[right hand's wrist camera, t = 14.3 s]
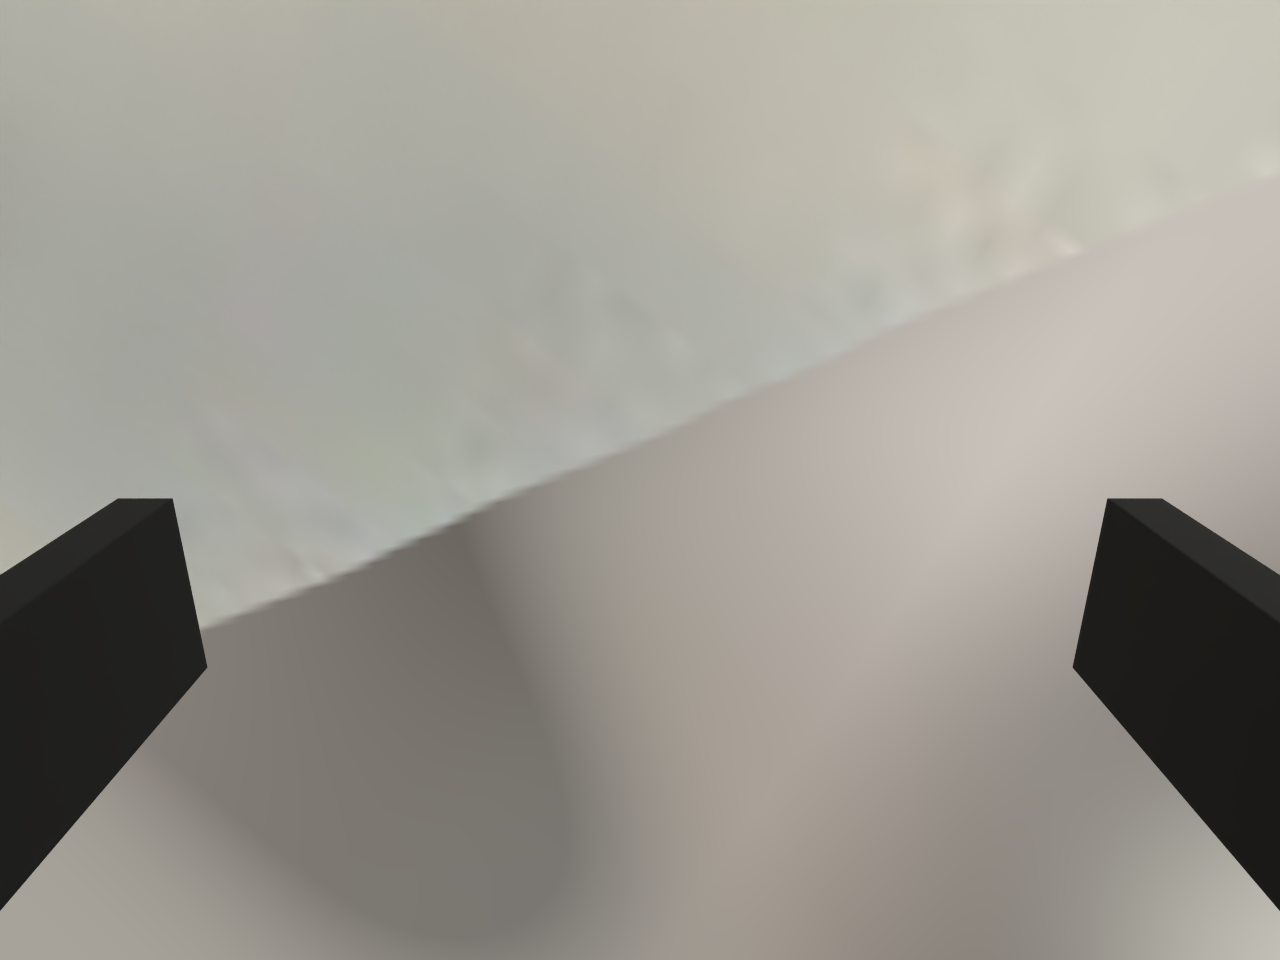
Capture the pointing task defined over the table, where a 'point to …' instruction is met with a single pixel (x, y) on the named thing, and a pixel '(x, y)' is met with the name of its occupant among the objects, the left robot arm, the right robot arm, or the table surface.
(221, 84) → the table surface
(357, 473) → the table surface
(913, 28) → the table surface
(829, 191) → the table surface
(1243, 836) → the right robot arm
